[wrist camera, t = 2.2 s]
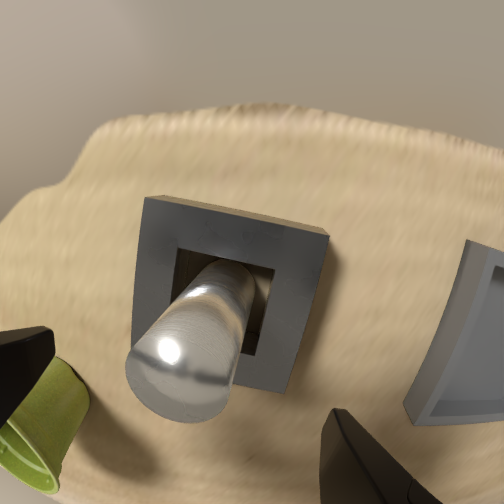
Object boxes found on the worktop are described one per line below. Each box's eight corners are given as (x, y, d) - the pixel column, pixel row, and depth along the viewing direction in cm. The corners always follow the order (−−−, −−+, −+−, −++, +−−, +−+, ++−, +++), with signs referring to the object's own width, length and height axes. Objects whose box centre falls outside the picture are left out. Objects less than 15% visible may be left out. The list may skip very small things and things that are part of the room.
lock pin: (260, 266, 17) (238, 352, 8) (248, 320, 17) (220, 433, 9) (202, 253, 17) (126, 322, 8) (193, 307, 18) (126, 404, 9)
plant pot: (103, 354, 19) (31, 429, 11) (115, 441, 21) (72, 512, 13) (14, 319, 20) (-58, 364, 11) (34, 405, 22) (-16, 455, 13)
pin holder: (322, 228, 16) (329, 235, 14) (284, 369, 18) (283, 393, 15) (163, 195, 16) (144, 197, 14) (147, 335, 18) (130, 354, 16)
